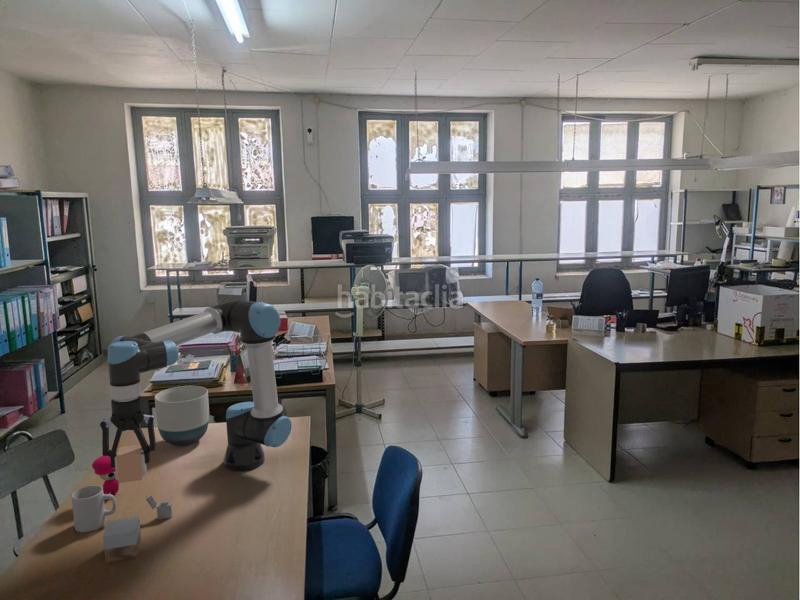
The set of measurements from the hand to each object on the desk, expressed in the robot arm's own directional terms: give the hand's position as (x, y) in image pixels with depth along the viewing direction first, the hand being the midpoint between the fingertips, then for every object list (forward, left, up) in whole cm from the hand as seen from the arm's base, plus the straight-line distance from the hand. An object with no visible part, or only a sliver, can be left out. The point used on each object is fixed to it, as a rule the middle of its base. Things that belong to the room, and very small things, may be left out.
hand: (131, 475), depth 154 cm
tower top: (+3, +1, -18) cm, 19 cm away
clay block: (0, 0, 0) cm, 0 cm away
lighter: (-5, -14, -22) cm, 26 cm away
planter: (-8, -71, -22) cm, 75 cm away
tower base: (+3, +2, -22) cm, 23 cm away
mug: (+14, -16, -22) cm, 31 cm away
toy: (+13, -32, -22) cm, 41 cm away
